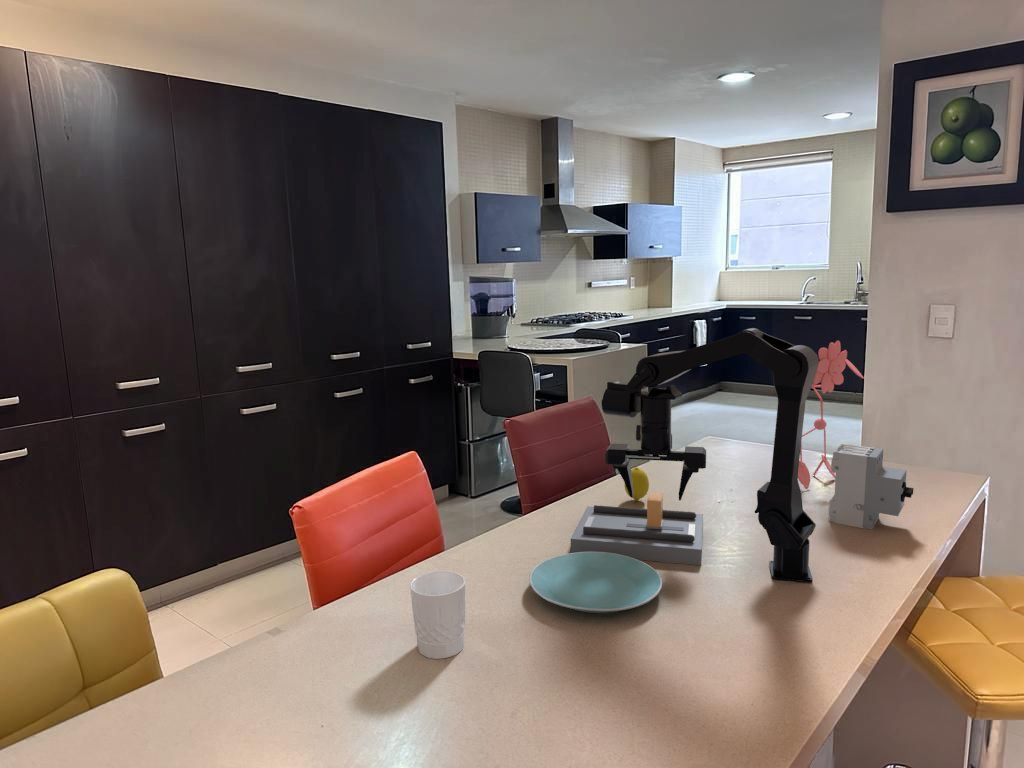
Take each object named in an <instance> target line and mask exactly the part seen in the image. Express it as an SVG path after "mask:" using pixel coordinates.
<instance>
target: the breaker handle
mask: <svg viewBox="0 0 1024 768" xmlns="http://www.w3.org/2000/svg"><path fill="white" fill-rule="evenodd" d="M663 497H664V495H663V493H657V492H656V493H655V492H649V493H648V497H647V499H646V504H647V505H646V509H647V524H646V528H651V529H662V527H663V520H662V515H663V510H664V509H663V505H664V503H663V501H664V499H663Z"/></svg>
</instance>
